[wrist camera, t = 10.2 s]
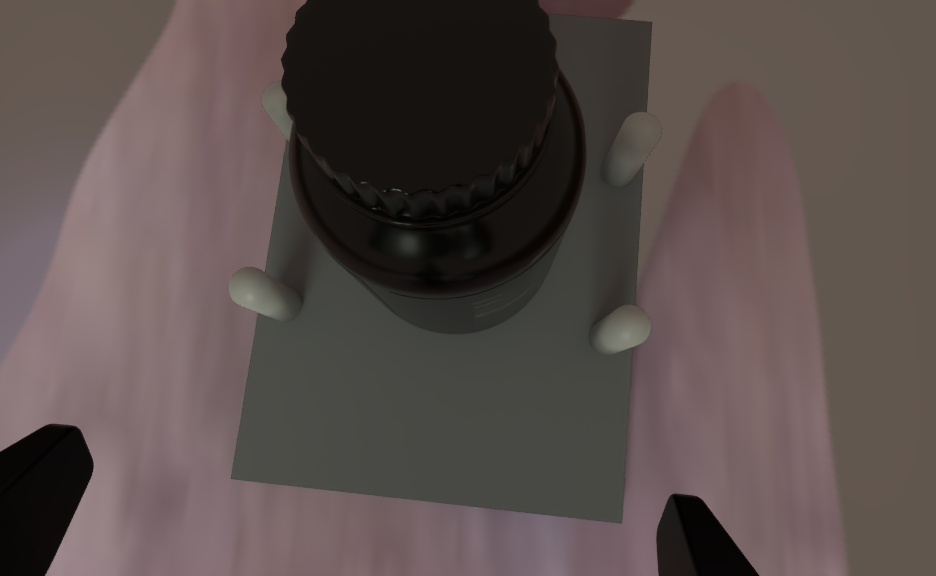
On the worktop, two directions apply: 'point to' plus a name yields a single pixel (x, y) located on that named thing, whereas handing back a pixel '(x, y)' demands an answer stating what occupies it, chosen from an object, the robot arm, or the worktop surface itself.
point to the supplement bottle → (434, 151)
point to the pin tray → (465, 340)
